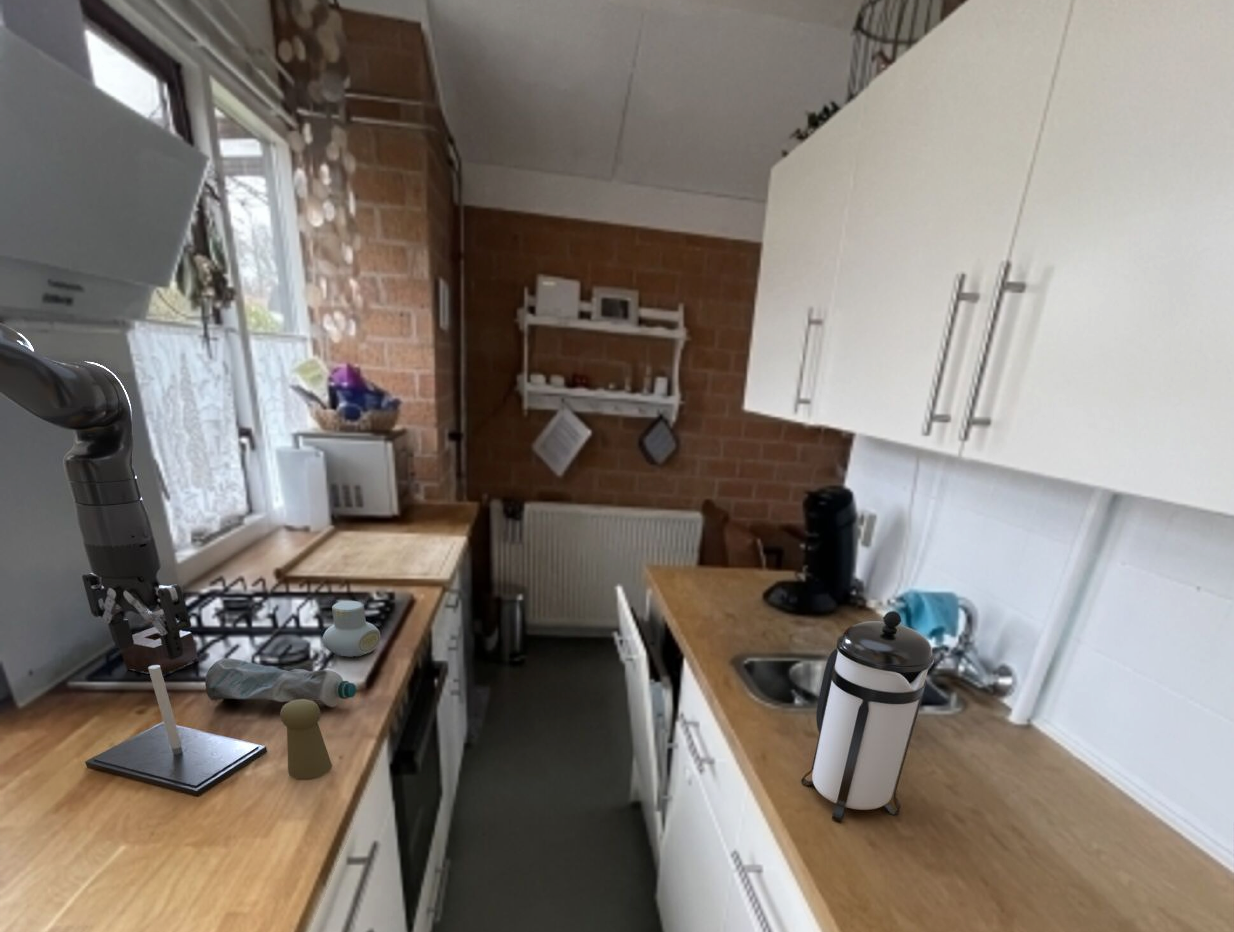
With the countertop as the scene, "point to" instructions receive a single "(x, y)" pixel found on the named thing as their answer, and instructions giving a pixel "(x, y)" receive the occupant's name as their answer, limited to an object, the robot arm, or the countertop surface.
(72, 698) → the countertop surface
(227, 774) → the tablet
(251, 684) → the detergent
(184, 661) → the pen stand
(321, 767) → the olive green pawn
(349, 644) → the air freshener
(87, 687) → the countertop surface
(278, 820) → the countertop surface
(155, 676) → the stylus
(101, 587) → the robot arm
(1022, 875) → the countertop surface
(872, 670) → the coffee press
